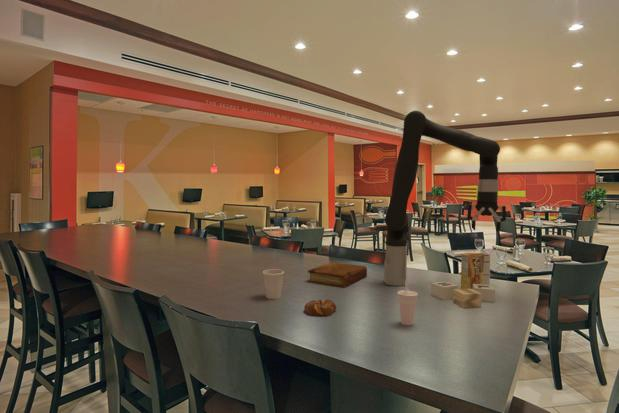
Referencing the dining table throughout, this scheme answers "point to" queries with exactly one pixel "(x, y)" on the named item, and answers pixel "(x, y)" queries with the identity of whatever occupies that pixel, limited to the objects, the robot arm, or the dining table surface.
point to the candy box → (471, 270)
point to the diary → (337, 274)
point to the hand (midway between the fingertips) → (485, 230)
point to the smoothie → (407, 305)
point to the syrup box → (486, 267)
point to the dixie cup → (273, 283)
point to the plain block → (467, 298)
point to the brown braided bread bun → (320, 307)
